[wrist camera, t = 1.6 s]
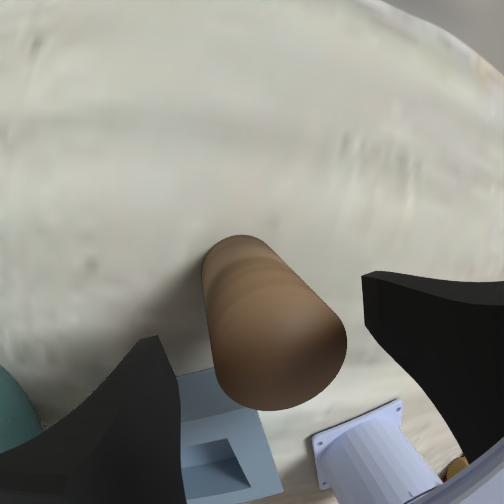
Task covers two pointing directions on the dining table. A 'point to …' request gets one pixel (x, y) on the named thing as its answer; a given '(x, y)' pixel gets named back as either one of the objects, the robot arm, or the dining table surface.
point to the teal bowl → (15, 414)
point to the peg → (267, 327)
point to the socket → (222, 446)
